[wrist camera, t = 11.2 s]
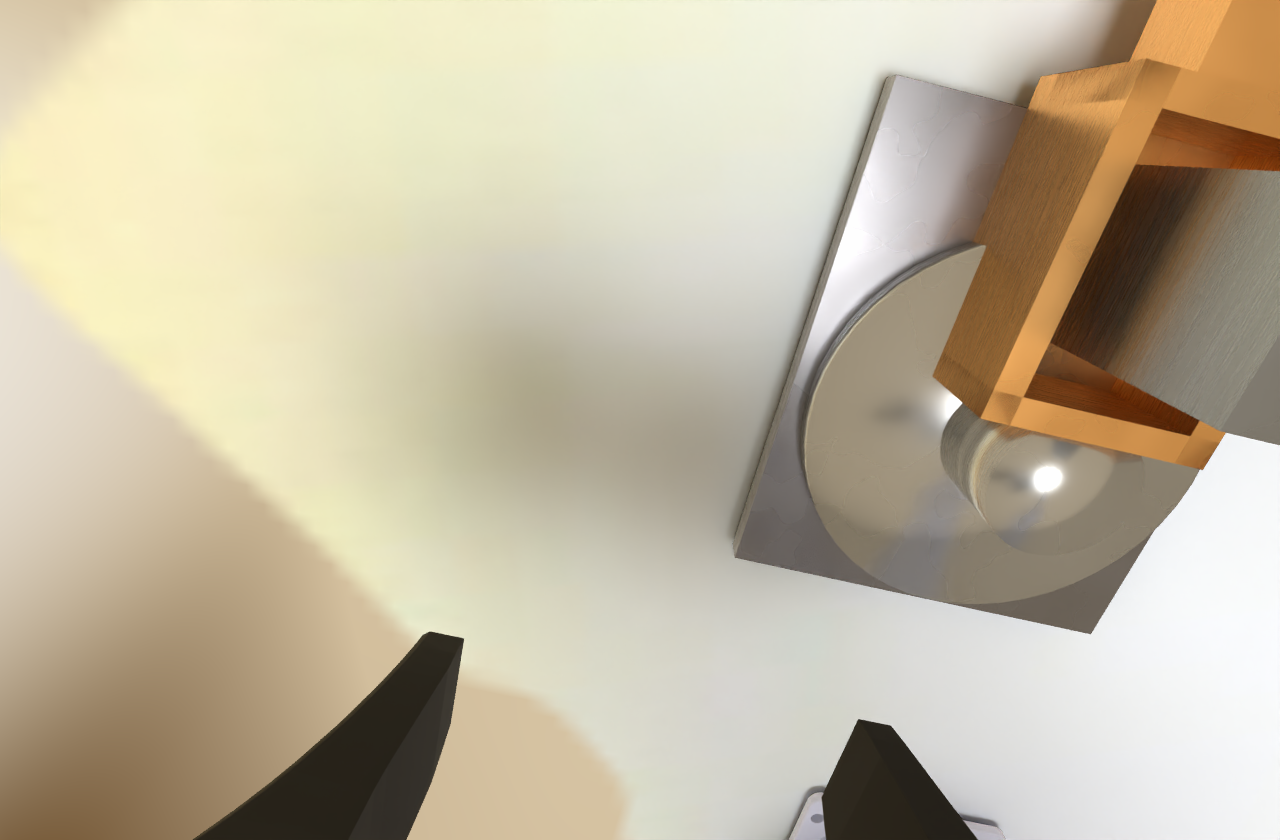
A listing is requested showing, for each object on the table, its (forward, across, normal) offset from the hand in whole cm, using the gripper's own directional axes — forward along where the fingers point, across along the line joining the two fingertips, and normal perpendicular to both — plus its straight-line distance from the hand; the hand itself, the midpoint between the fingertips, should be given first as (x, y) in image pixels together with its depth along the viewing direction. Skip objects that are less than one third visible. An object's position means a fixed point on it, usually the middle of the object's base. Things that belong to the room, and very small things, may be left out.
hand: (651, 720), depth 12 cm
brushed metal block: (+8, -9, -9) cm, 15 cm away
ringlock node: (+10, -9, -9) cm, 16 cm away
